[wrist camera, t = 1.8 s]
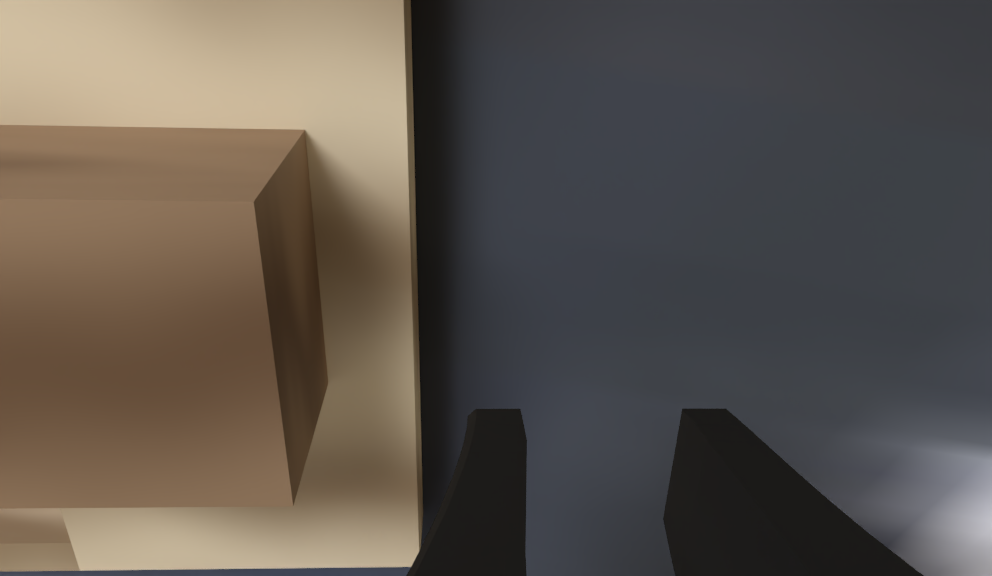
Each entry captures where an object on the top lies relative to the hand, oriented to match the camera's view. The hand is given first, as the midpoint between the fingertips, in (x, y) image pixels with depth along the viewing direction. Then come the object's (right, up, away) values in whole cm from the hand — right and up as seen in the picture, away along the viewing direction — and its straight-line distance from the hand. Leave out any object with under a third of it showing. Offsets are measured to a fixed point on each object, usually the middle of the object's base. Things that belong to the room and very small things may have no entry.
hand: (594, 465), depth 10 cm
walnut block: (-8, +3, +5) cm, 10 cm away
